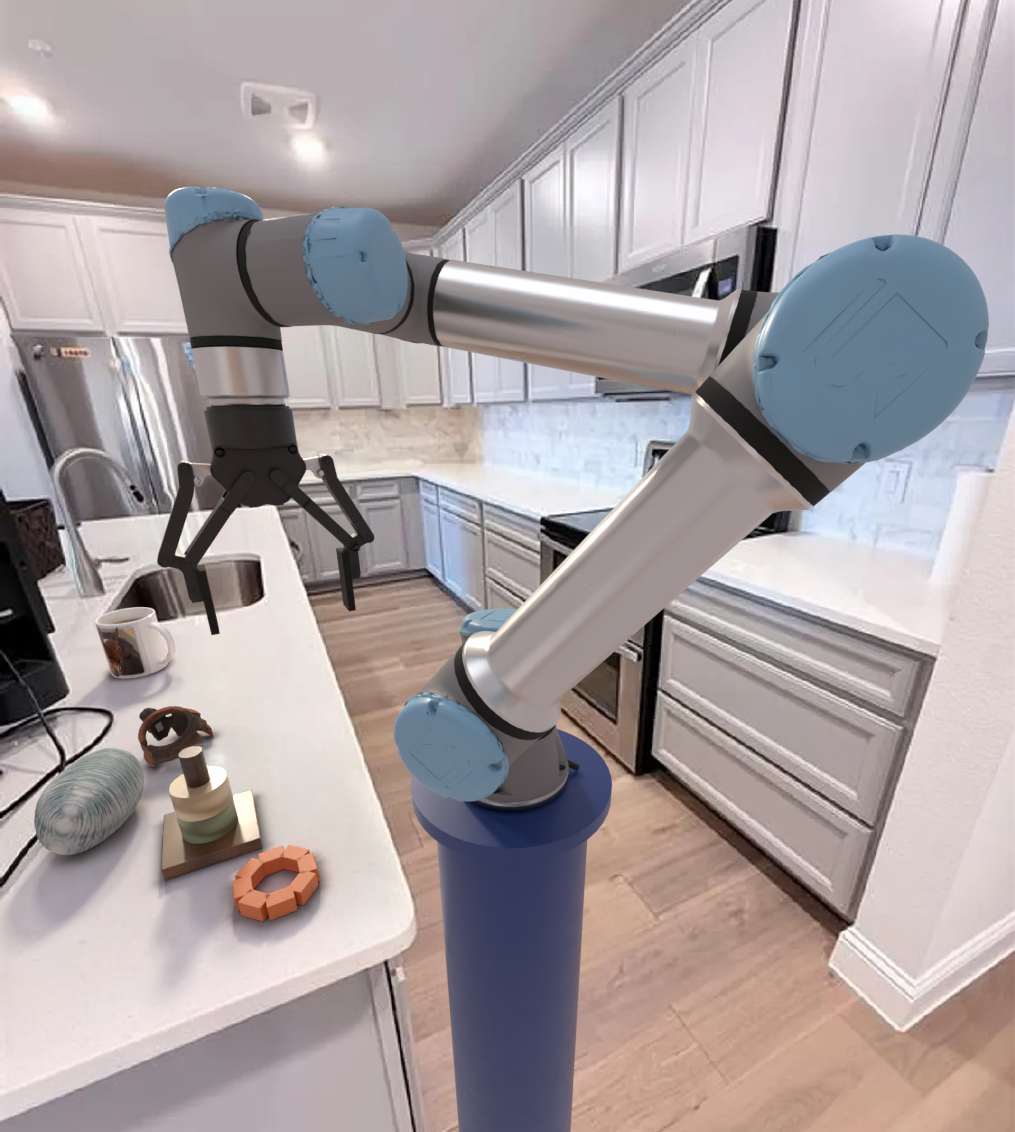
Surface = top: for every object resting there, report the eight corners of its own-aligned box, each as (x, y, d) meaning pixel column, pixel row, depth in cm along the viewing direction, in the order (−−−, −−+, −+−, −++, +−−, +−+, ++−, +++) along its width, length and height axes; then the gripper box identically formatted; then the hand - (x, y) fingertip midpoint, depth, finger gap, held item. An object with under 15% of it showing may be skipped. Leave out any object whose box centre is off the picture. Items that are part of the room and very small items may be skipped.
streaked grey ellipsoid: (79, 767, 74) (84, 719, 69) (156, 787, 77) (166, 742, 72) (8, 862, 63) (7, 814, 58) (100, 881, 66) (108, 836, 61)
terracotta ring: (310, 848, 65) (308, 836, 64) (325, 899, 58) (323, 886, 57) (233, 875, 61) (230, 862, 60) (239, 932, 54) (236, 919, 54)
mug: (164, 652, 117) (151, 602, 113) (182, 669, 109) (169, 617, 105) (105, 667, 110) (89, 615, 106) (120, 687, 102) (103, 632, 98)
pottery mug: (233, 738, 87) (213, 712, 80) (189, 790, 82) (164, 768, 75) (173, 708, 90) (149, 681, 83) (127, 757, 84) (97, 733, 78)
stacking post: (253, 798, 73) (235, 719, 68) (262, 847, 65) (242, 762, 60) (166, 824, 69) (141, 742, 64) (164, 880, 60) (134, 791, 56)
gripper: (370, 402, 60) (388, 590, 68) (89, 404, 49) (151, 628, 57) (391, 401, 53) (409, 608, 62) (76, 404, 43) (148, 655, 51)
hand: (285, 618), depth 59 cm, fingers open, 13 cm apart
